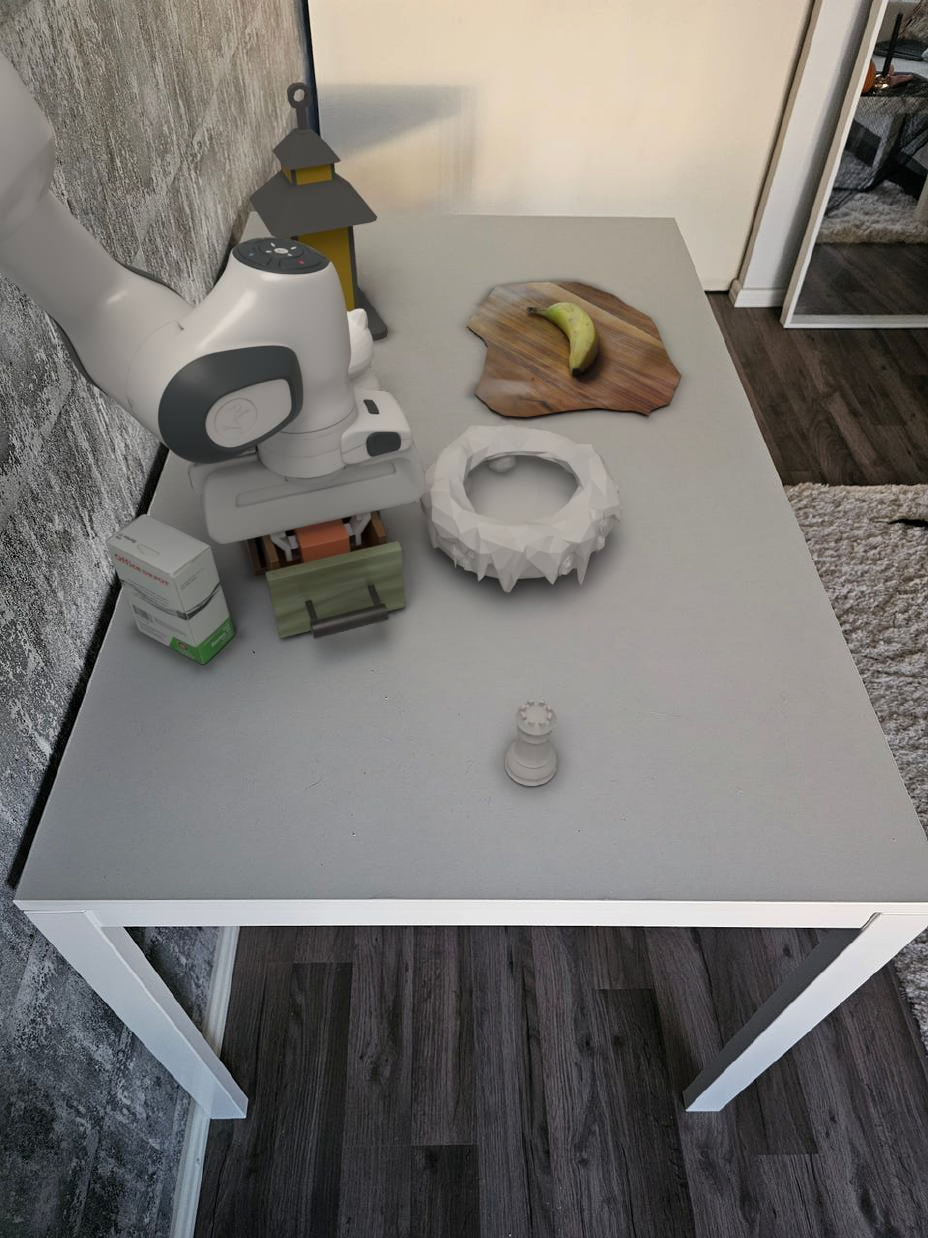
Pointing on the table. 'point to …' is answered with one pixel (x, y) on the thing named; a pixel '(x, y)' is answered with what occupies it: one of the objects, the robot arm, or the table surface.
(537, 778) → the rook chess piece
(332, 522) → the block
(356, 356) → the cat figurine
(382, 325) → the lantern
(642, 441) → the table surface
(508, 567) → the bowl
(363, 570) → the drawer
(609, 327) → the cutting board
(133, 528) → the ink box
